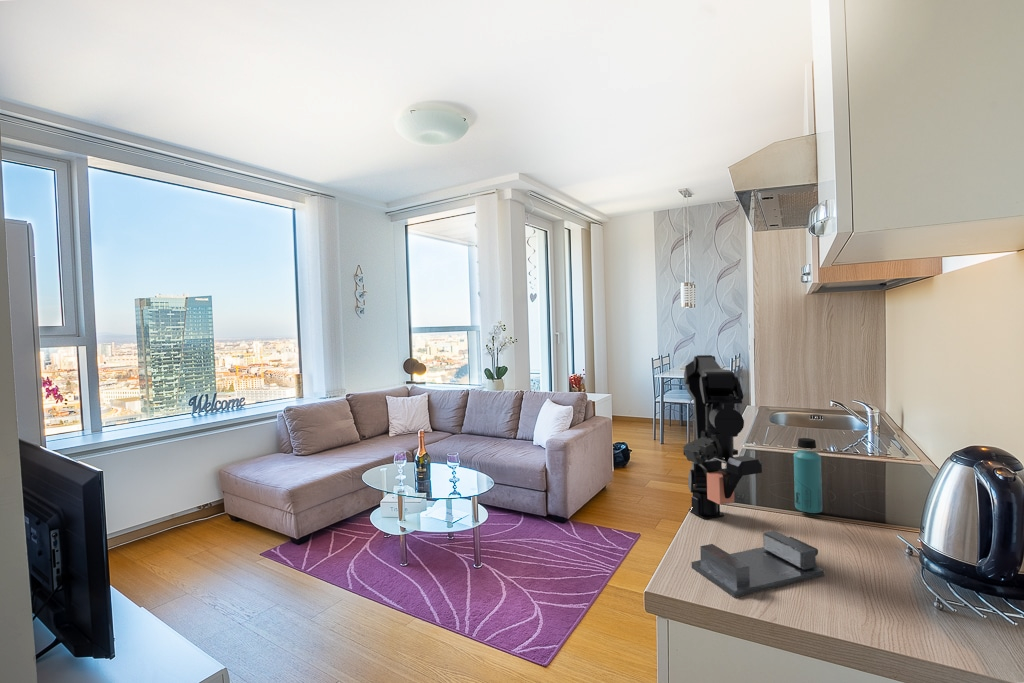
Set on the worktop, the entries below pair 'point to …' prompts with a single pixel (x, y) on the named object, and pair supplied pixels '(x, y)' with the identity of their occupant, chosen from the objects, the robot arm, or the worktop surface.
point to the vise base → (749, 570)
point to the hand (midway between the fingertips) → (720, 494)
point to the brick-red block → (717, 488)
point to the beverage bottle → (807, 478)
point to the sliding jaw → (790, 549)
